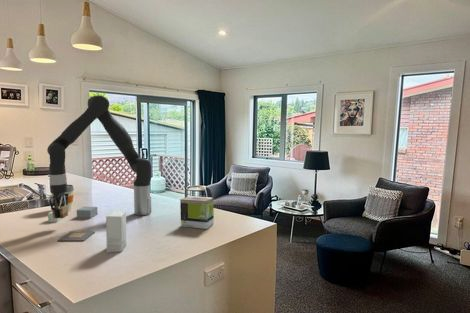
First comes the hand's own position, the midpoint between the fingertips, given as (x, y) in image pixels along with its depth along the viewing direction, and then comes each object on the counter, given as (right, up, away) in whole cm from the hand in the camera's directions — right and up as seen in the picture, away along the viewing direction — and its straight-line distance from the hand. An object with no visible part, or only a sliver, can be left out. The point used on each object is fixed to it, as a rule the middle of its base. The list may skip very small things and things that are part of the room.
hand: (60, 215), depth 160 cm
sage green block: (-11, -5, +14) cm, 18 cm away
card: (+14, -8, -11) cm, 20 cm away
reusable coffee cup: (-18, -3, +36) cm, 40 cm away
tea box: (+69, -7, +7) cm, 69 cm away
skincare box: (+38, -9, -26) cm, 47 cm away
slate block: (+3, -5, +22) cm, 23 cm away
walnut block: (0, -1, 0) cm, 1 cm away
